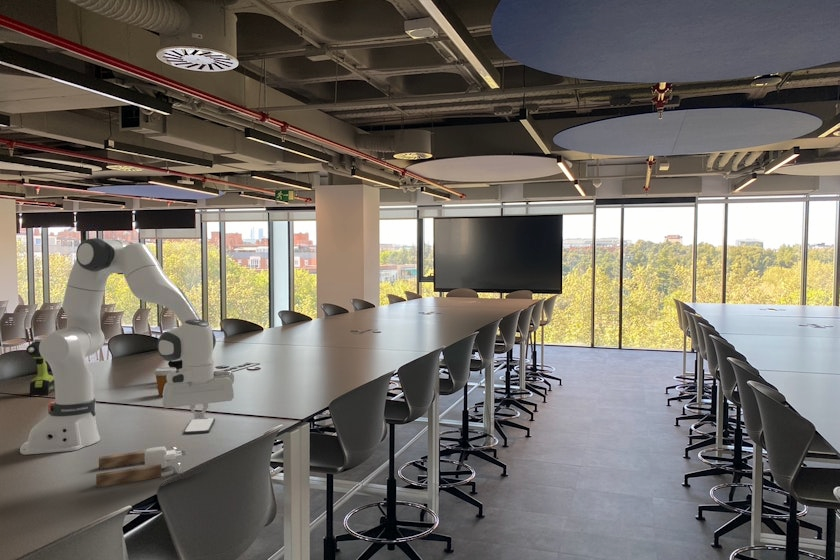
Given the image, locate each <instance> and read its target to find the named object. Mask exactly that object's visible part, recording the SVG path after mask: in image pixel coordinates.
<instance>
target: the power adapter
mask: <svg viewBox="0 0 840 560" xmlns="http://www.w3.org/2000/svg"><path fill="white" fill-rule="evenodd" d="M144 451H145V463H144V467H146V466H152V465H159V464H161V470H162V469H165V468H167V464H168V460H169V461H170V460H171V461H172V460H176V459H177V457H181V456H186V455H187V452H186V450H185V449H182V450H176V452H175V450H169V449H168V450H167V448H166V446H163V445H162V446H154V447H149V448H146V449H145V450H144Z"/></svg>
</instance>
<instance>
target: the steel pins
mask: <svg viewBox="0 0 840 560" xmlns="http://www.w3.org/2000/svg"><path fill="white" fill-rule="evenodd" d="M168 450H175V452H176V451H177V446H170V447H169V449H168ZM179 473H180V474H181V461H174V462H172V475H175V476H177V475H180V474H179Z"/></svg>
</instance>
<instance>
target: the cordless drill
mask: <svg viewBox="0 0 840 560" xmlns="http://www.w3.org/2000/svg"><path fill="white" fill-rule="evenodd" d="M40 342H41V341H39V340H36V341H33V342H31V343H30V344H29V345H28V346H27V347H26V350H25V351H26V353H27V354H29V356H31V358H33V359H34V360H35V364H36V366H37V375H36V376H35V377H34V378H32V379H31V381H30V384H29V396H30V395H47V396H49V395H50V394H49V393H51V392H52V391H53V392H55V381H54V376H53V375H52V374H49V370H48V362H47V361H46V360H44V359H43V358H42V356H41V355H40V352H39V345H40ZM53 392H52V393H53ZM52 393H51V394H52ZM48 394H49V395H48Z"/></svg>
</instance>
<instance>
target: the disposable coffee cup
mask: <svg viewBox="0 0 840 560" xmlns="http://www.w3.org/2000/svg"><path fill="white" fill-rule="evenodd" d="M173 371H176V368H174V367H169V366H168V367H167V366H166V367H159V368H156V369H155V370H154V374H155V380H156V386H157V392H158V396H159V397H160V396H163V389H164V386H165V384H166V383H167V378H166V377H167V374H168V373H170V372H173Z"/></svg>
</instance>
